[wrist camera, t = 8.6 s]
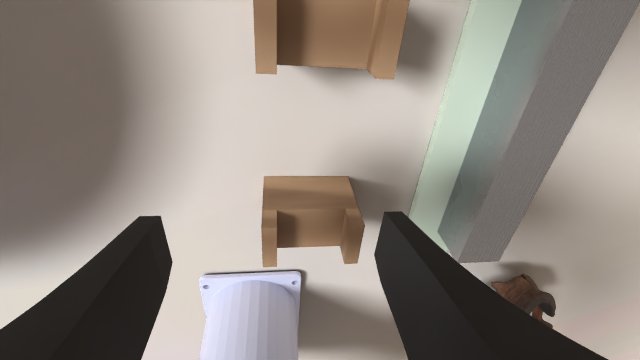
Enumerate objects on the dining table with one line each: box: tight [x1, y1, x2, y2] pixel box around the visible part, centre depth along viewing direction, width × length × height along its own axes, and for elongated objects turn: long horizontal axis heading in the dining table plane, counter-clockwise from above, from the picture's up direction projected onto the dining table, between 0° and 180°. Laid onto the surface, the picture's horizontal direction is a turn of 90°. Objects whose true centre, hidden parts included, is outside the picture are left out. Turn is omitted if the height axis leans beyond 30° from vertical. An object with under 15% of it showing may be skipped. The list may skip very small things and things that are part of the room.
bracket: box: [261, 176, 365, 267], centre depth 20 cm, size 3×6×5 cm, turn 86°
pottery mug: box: [491, 274, 556, 328], centre depth 30 cm, size 12×10×8 cm
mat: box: [408, 0, 522, 252], centre depth 21 cm, size 20×8×1 cm, turn 176°
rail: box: [437, 0, 640, 263], centre depth 19 cm, size 18×3×3 cm
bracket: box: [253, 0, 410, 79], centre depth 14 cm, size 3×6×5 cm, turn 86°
